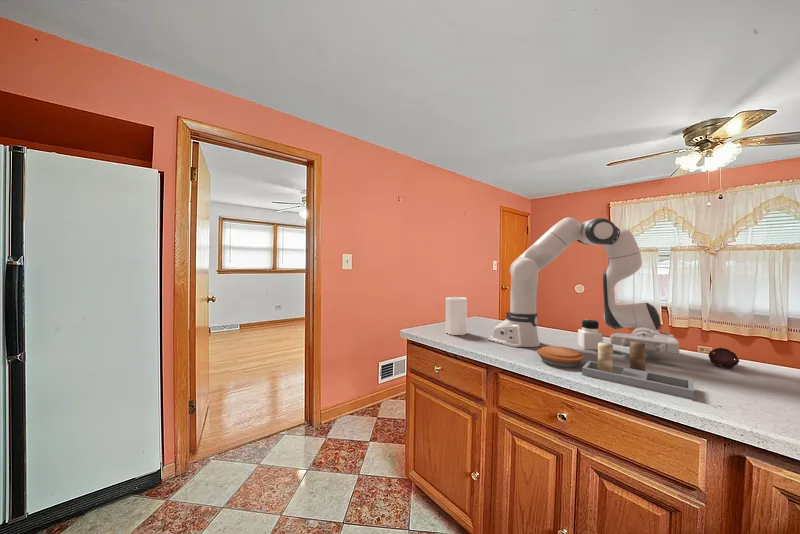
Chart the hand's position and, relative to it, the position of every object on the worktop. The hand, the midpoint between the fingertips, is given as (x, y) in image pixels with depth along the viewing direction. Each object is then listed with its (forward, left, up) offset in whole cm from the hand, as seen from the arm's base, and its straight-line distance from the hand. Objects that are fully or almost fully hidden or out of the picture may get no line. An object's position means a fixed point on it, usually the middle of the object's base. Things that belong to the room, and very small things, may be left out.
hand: (641, 346), depth 108 cm
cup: (-75, -4, -7) cm, 76 cm away
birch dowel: (-8, -22, -6) cm, 24 cm away
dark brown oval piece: (+22, +16, -7) cm, 28 cm away
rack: (0, -22, -6) cm, 23 cm away
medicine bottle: (-18, +13, -7) cm, 23 cm away
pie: (-22, -18, -7) cm, 30 cm away
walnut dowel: (0, -12, -6) cm, 14 cm away
